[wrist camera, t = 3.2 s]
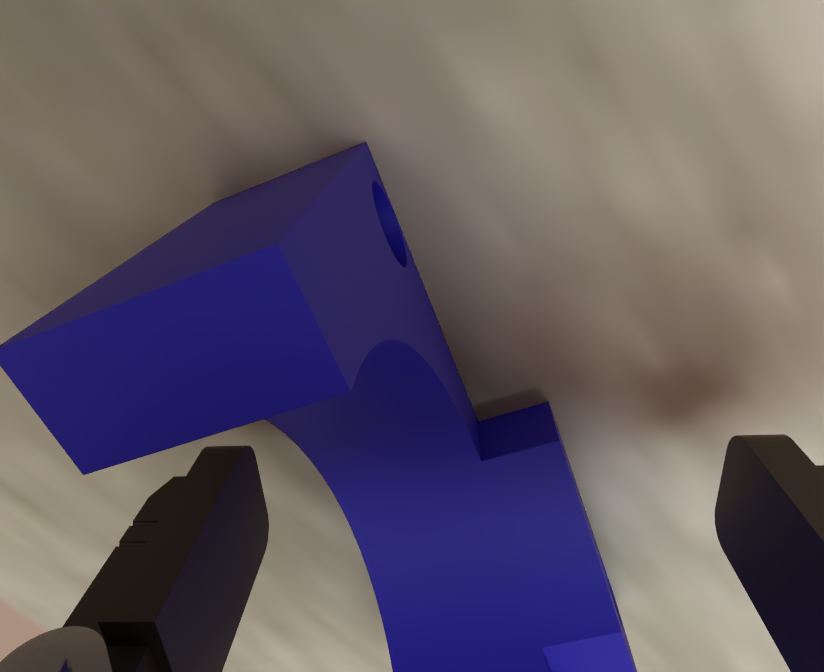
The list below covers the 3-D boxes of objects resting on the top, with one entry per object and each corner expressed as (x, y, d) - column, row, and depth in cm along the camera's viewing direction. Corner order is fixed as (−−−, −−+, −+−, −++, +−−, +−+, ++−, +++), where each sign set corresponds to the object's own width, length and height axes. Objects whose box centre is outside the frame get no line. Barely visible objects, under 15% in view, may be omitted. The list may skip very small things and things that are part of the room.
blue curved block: (613, 594, 15) (709, 913, 9) (441, 631, 16) (437, 941, 10) (449, 106, 10) (450, 178, 5) (216, 200, 11) (-11, 352, 6)
